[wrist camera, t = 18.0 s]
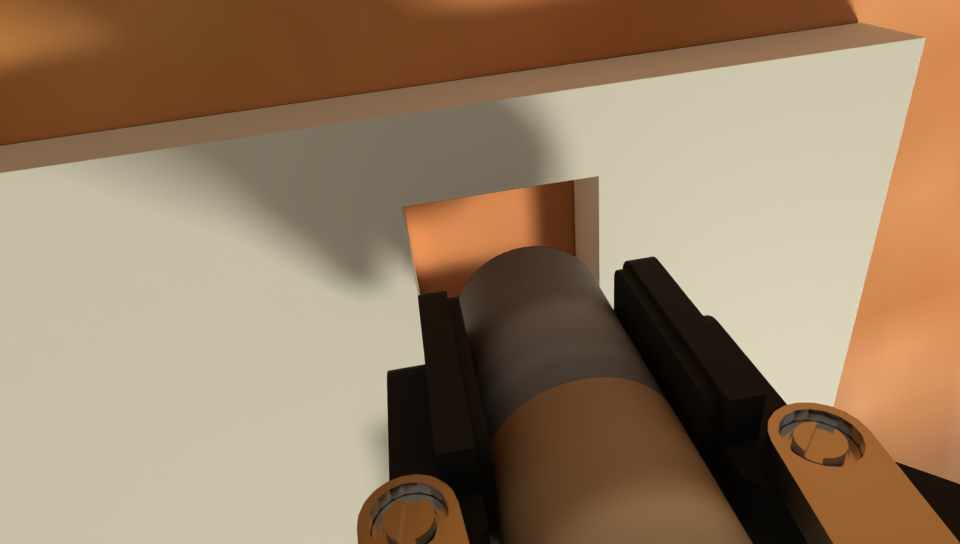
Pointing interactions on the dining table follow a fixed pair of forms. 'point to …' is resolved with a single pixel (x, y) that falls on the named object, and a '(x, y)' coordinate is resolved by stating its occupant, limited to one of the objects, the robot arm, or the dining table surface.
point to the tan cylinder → (580, 415)
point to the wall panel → (399, 266)
